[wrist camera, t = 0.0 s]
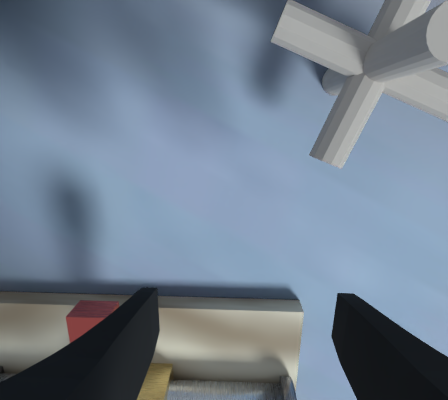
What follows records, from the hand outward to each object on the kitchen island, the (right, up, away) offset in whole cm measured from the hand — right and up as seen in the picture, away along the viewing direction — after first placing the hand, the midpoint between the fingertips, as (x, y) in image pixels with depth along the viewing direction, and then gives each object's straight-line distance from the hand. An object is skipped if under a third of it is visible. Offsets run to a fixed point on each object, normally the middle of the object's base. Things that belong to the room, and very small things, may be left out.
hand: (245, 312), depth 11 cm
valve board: (-8, -11, +14) cm, 19 cm away
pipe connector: (+6, +12, +7) cm, 16 cm away
